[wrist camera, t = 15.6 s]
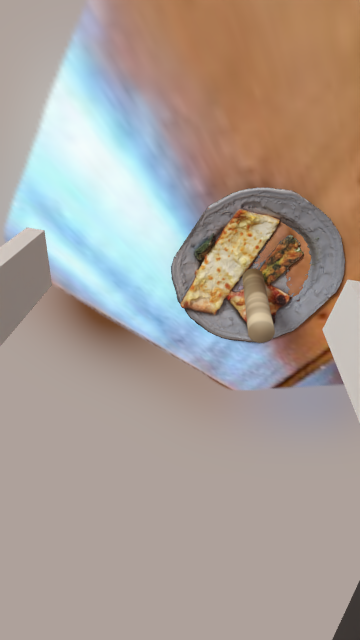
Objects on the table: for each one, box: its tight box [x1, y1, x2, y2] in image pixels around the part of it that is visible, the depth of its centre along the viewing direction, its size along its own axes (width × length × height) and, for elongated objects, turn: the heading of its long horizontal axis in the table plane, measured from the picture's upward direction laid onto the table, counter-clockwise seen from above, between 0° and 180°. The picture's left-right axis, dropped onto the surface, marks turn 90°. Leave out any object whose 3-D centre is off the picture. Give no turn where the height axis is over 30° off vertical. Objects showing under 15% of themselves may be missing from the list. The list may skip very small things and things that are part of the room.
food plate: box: [171, 188, 345, 342], centre depth 49 cm, size 25×23×4 cm
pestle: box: [242, 268, 275, 343], centre depth 42 cm, size 3×3×13 cm
